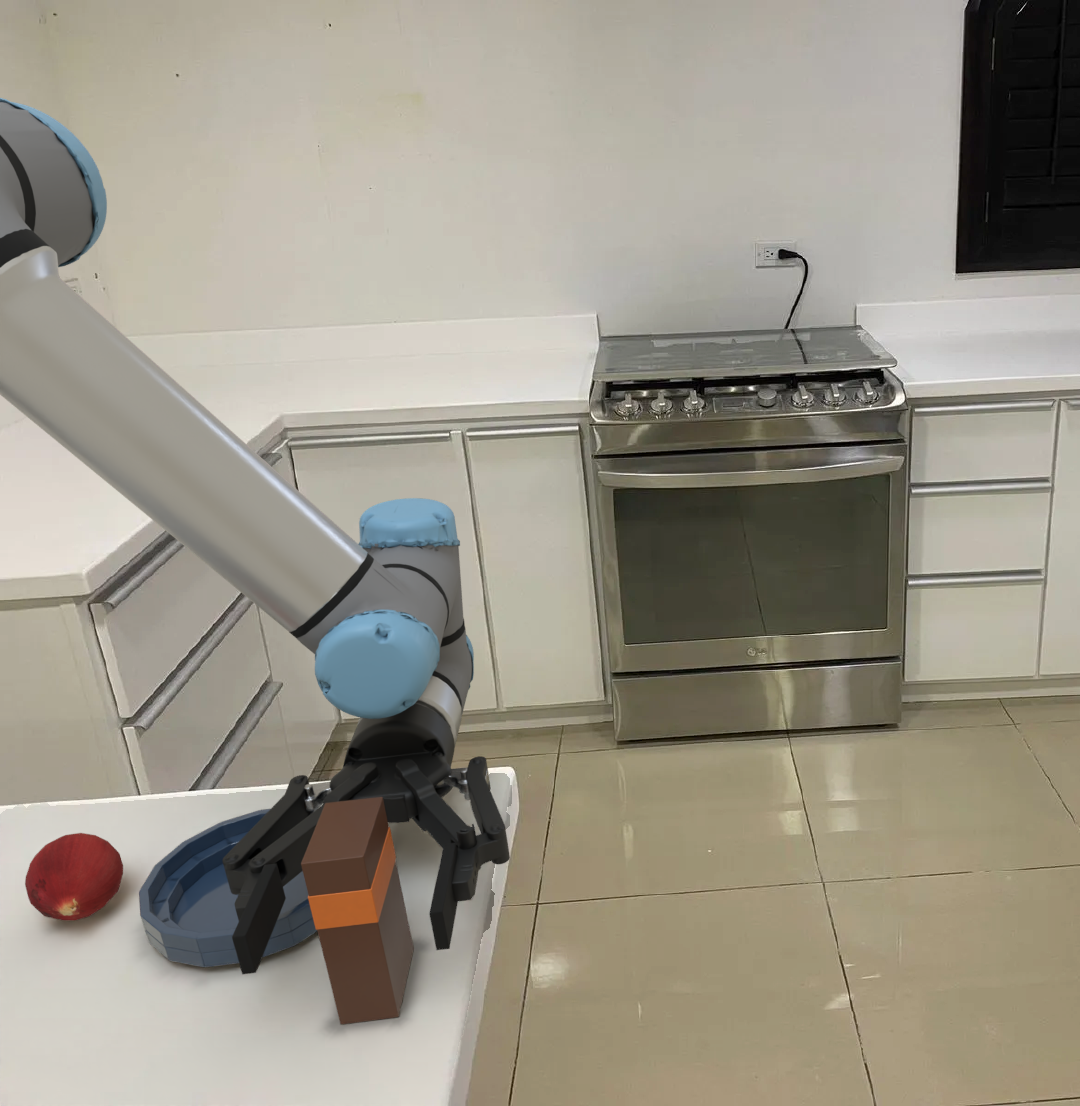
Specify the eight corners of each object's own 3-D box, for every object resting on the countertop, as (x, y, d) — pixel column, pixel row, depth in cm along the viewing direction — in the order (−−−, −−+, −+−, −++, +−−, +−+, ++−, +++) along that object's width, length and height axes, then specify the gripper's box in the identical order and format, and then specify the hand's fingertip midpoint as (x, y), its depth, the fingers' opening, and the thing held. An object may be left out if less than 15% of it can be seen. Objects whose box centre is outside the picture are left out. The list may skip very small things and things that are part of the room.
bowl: (116, 986, 70) (103, 949, 69) (192, 850, 83) (182, 818, 82) (341, 958, 71) (332, 922, 70) (380, 829, 84) (374, 796, 83)
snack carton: (339, 1025, 66) (299, 864, 61) (359, 954, 71) (324, 802, 67) (399, 1017, 66) (364, 856, 62) (415, 947, 72) (383, 795, 67)
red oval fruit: (70, 892, 80) (51, 965, 73) (17, 840, 77) (-8, 911, 70) (144, 850, 81) (133, 918, 74) (95, 797, 78) (78, 863, 71)
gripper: (560, 766, 85) (549, 968, 65) (262, 799, 83) (152, 1019, 62) (549, 682, 82) (534, 866, 62) (240, 714, 80) (118, 915, 60)
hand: (342, 943), depth 62 cm, fingers open, 10 cm apart
